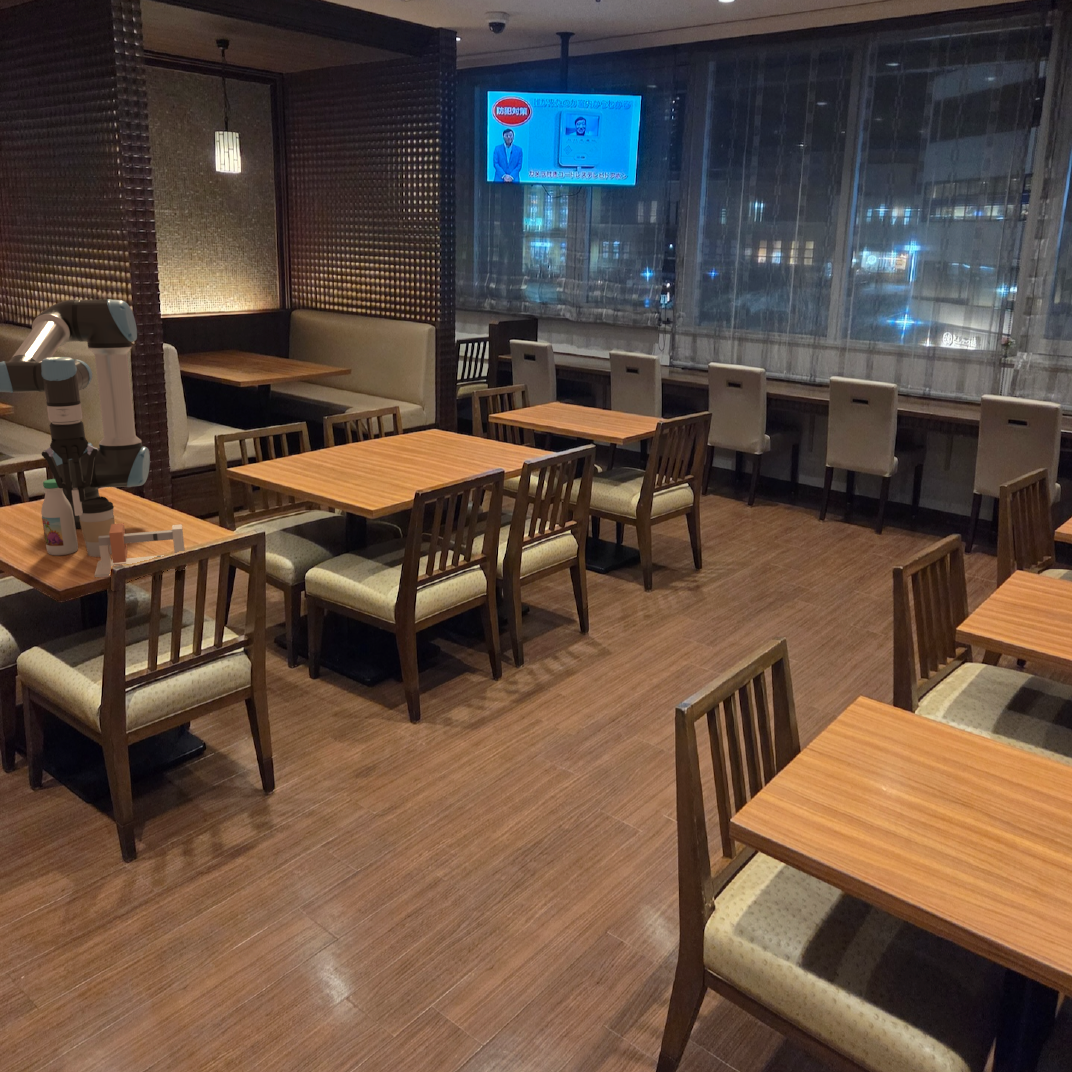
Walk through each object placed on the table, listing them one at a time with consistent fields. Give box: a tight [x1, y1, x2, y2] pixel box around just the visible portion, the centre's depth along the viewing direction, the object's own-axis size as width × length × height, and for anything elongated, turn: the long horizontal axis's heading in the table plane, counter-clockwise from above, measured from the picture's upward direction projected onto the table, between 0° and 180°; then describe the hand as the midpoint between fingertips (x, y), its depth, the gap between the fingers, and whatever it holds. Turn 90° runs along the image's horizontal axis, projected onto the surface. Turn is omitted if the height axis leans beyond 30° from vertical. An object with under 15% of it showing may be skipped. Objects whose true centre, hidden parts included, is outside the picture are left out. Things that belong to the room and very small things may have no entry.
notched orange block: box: [109, 522, 129, 563], centre depth 247 cm, size 8×3×8 cm, turn 19°
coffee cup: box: [79, 495, 116, 558], centre depth 258 cm, size 9×9×15 cm
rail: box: [94, 523, 188, 578], centre depth 249 cm, size 11×22×10 cm, turn 109°
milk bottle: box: [41, 478, 79, 556], centre depth 258 cm, size 8×8×20 cm
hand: (78, 514), depth 241 cm, fingers closed
